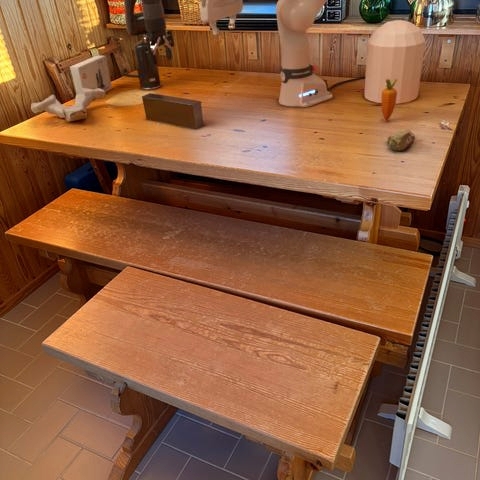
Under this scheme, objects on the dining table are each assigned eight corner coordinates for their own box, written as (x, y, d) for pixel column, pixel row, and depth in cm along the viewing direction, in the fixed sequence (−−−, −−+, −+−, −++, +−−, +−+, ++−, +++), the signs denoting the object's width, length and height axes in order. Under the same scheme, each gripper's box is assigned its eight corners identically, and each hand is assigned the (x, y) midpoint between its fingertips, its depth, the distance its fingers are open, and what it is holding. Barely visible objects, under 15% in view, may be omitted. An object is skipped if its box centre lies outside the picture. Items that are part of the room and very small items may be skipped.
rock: (408, 140, 153) (379, 139, 152) (414, 122, 149) (384, 120, 148) (421, 154, 144) (391, 153, 143) (428, 135, 140) (396, 133, 139)
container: (387, 107, 176) (395, 28, 160) (353, 94, 192) (357, 21, 176) (429, 96, 183) (441, 19, 167) (393, 84, 199) (400, 12, 183)
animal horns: (27, 127, 191) (17, 99, 184) (60, 107, 212) (52, 81, 206) (89, 127, 185) (81, 97, 179) (116, 106, 206) (110, 79, 200)
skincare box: (87, 102, 214) (77, 67, 204) (78, 102, 215) (68, 66, 206) (113, 88, 229) (105, 54, 220) (104, 88, 231) (96, 54, 222)
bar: (146, 119, 189) (141, 96, 183) (154, 115, 192) (150, 92, 186) (196, 129, 175) (192, 104, 169) (204, 125, 178) (200, 100, 172)
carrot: (394, 118, 167) (398, 76, 158) (393, 123, 163) (397, 80, 154) (379, 117, 168) (383, 75, 160) (378, 122, 165) (382, 80, 156)
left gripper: (159, 13, 176) (167, 57, 185) (133, 20, 167) (142, 66, 176) (174, 13, 172) (181, 58, 182) (148, 20, 163) (156, 67, 172)
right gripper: (208, -8, 149) (213, 38, 157) (244, -17, 162) (247, 25, 170) (193, -8, 152) (198, 37, 160) (229, -17, 166) (233, 25, 173)
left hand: (162, 62), depth 179 cm, fingers open, 8 cm apart
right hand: (224, 31), depth 165 cm, fingers open, 8 cm apart
